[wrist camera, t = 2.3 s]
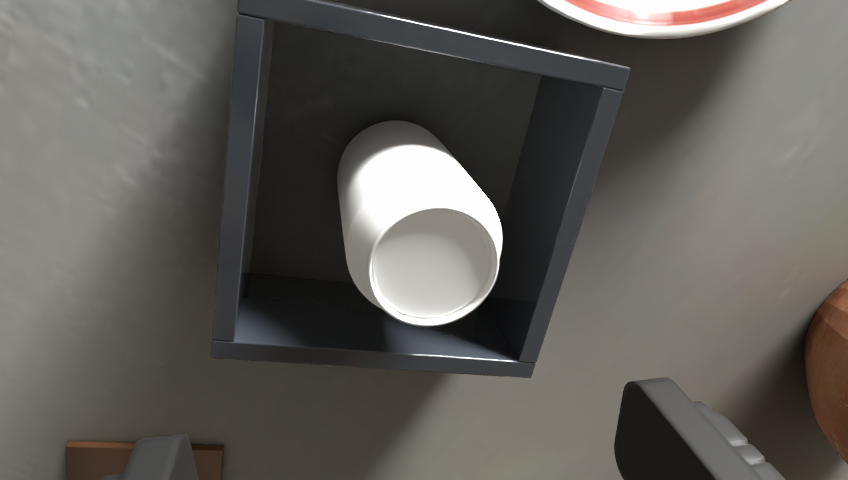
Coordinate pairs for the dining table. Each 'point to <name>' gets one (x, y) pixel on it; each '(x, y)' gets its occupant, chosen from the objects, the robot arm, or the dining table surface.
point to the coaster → (112, 458)
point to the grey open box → (521, 228)
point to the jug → (830, 368)
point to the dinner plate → (662, 15)
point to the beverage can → (415, 226)
